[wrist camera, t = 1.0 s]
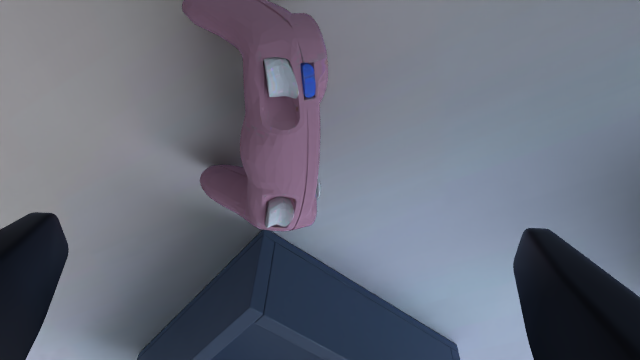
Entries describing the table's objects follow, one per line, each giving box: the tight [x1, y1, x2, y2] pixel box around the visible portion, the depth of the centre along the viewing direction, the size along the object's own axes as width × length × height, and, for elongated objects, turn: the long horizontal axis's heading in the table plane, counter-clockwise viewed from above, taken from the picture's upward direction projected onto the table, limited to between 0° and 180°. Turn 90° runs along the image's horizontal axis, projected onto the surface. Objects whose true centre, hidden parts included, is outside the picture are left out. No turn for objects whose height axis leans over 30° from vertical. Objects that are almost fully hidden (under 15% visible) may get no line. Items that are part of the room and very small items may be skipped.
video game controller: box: [182, 0, 328, 231], centre depth 20 cm, size 10×5×7 cm, turn 177°
